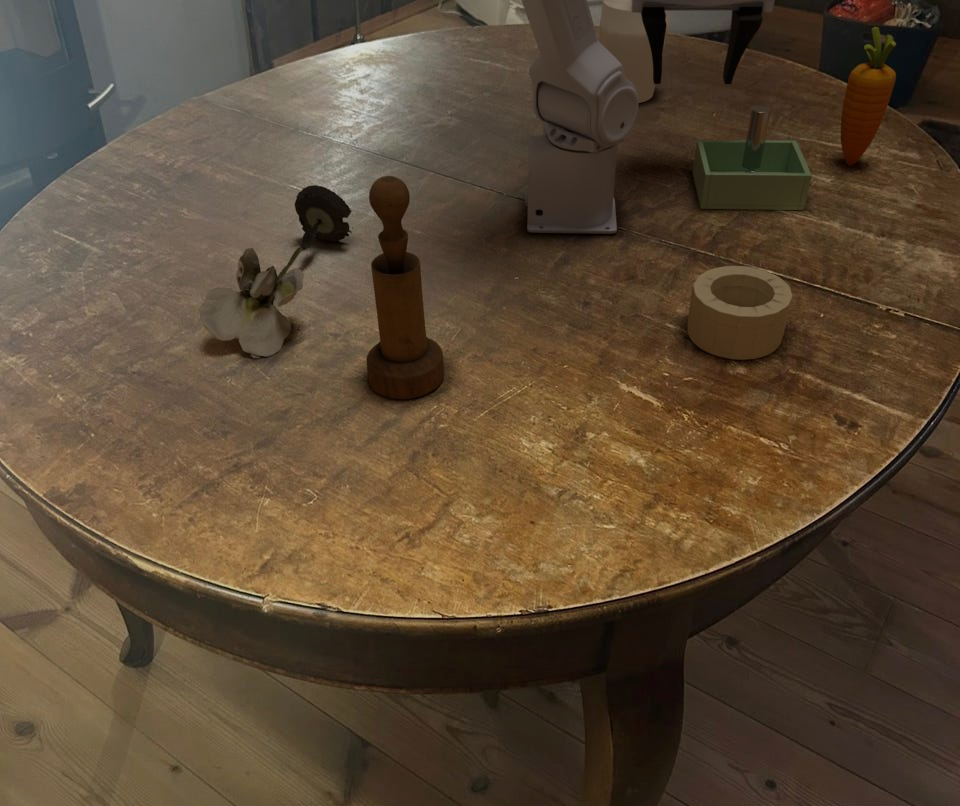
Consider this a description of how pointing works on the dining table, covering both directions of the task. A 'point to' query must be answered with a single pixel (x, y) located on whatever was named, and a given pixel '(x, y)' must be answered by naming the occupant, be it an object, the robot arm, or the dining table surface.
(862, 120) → the carrot
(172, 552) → the dining table surface
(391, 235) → the mortar and pestle
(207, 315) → the artificial flower
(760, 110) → the metallic cylinder
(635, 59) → the cup
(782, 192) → the bin
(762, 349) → the beige round bowl
